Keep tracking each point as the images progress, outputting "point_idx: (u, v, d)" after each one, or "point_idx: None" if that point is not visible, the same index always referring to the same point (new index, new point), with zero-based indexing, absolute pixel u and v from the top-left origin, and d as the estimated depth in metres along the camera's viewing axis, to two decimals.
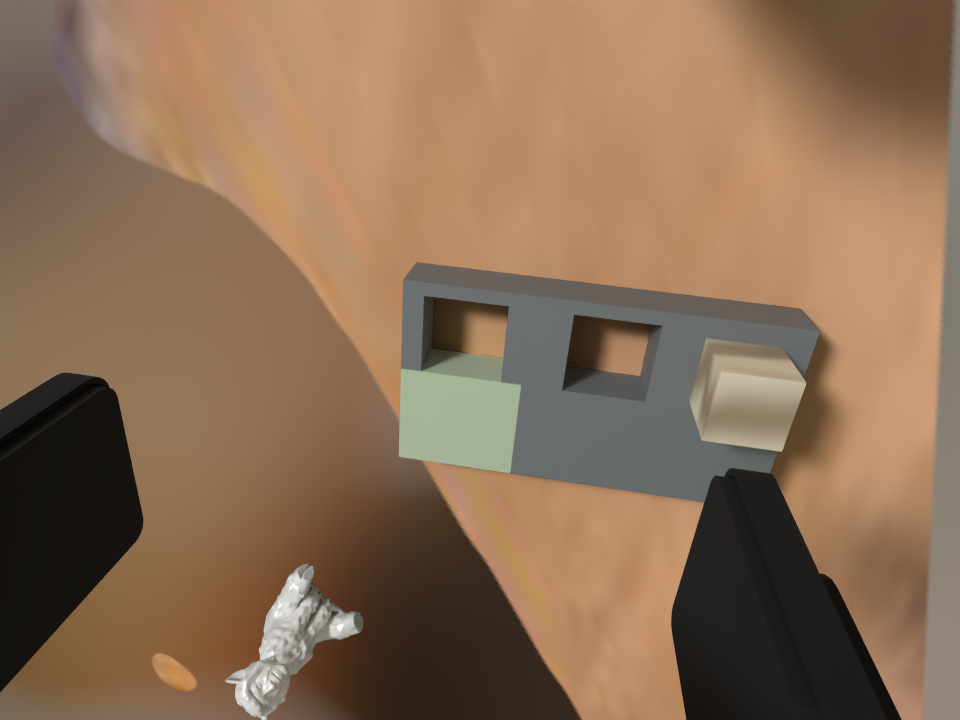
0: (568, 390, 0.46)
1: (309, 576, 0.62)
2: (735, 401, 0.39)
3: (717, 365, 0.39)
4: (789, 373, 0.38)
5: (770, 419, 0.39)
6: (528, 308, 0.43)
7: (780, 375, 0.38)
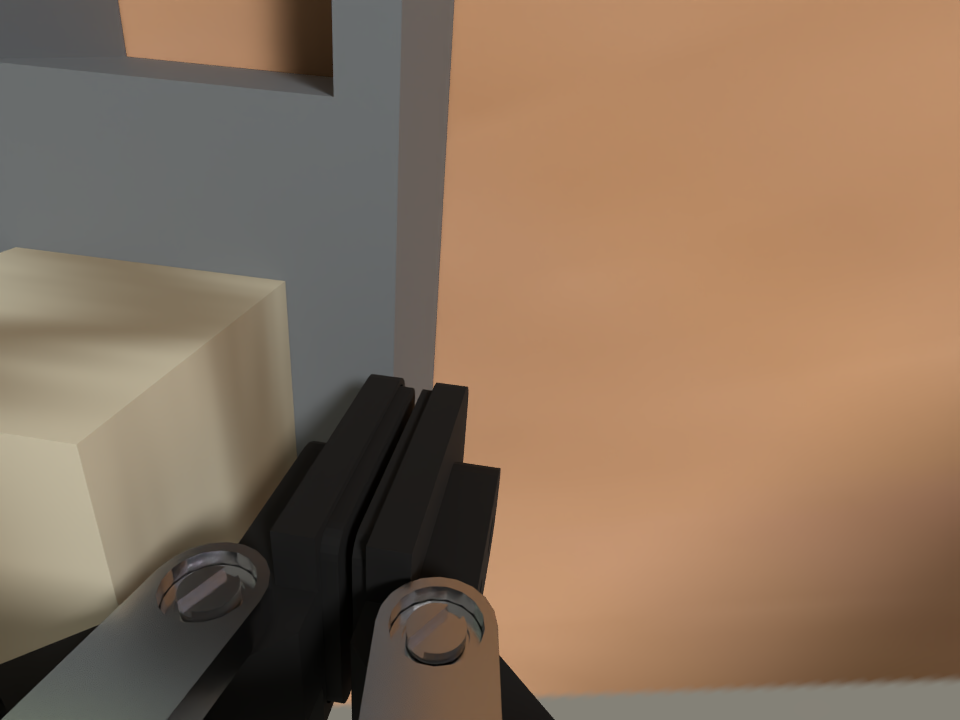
0: None
1: None
2: None
3: (134, 394, 0.07)
4: None
5: None
6: None
7: None
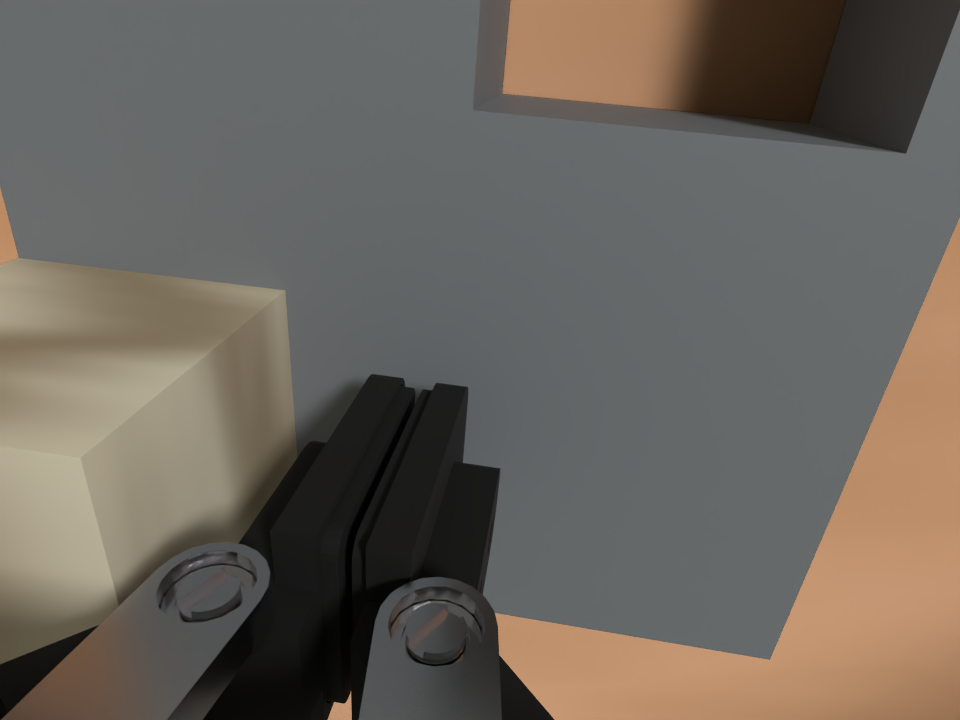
0: None
1: None
2: None
3: (136, 406, 0.07)
4: None
5: None
6: None
7: None
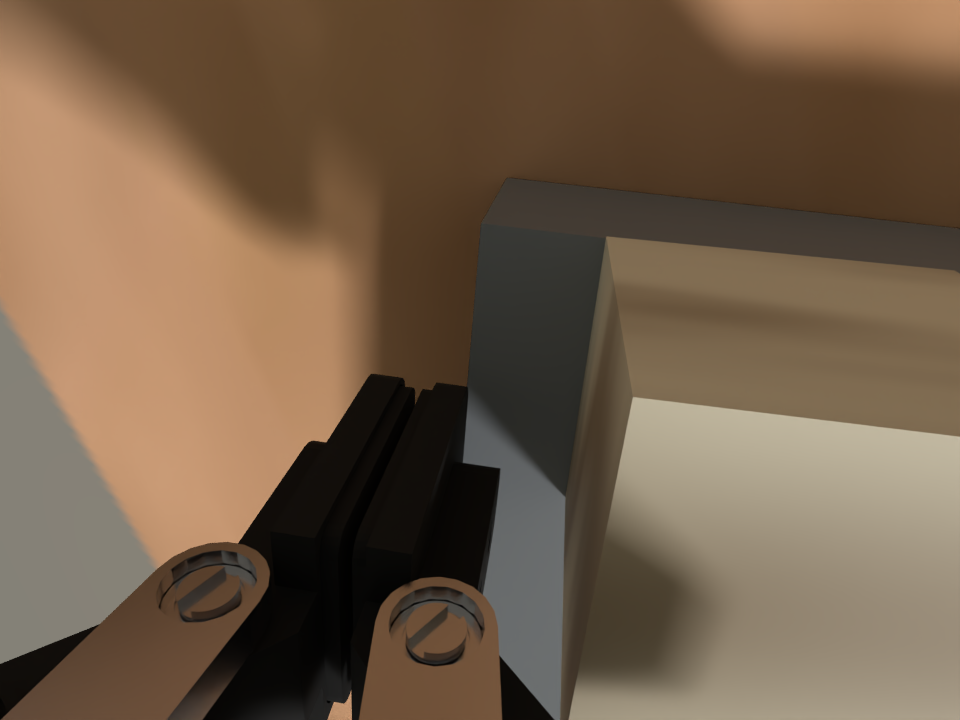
0: None
1: None
2: (956, 716, 0.06)
3: None
4: None
5: (736, 616, 0.06)
6: None
7: None
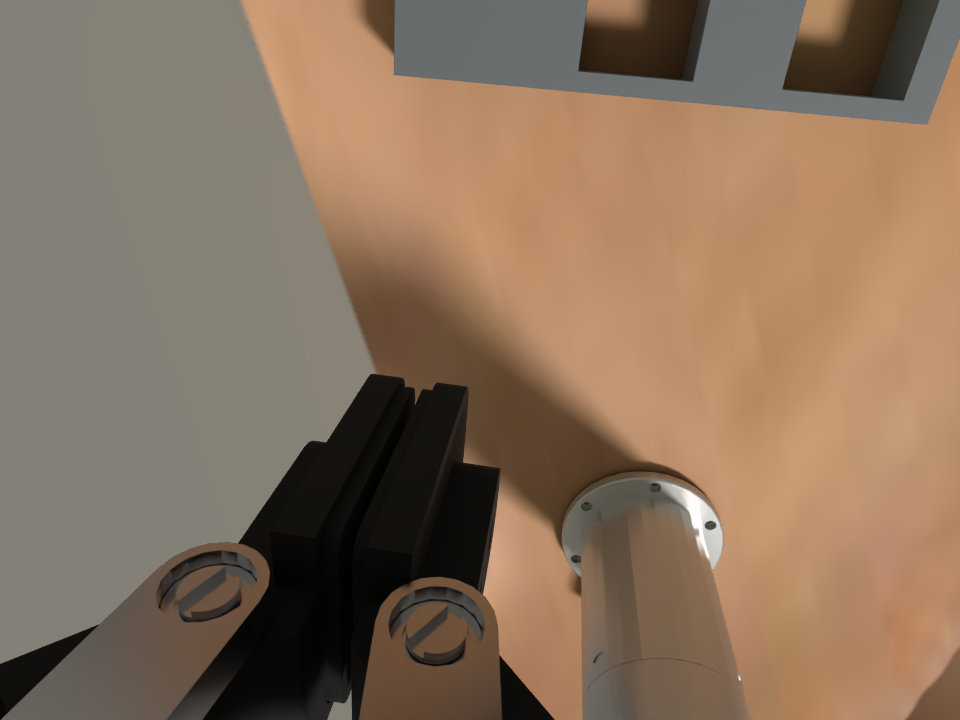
0: None
1: None
2: None
3: None
4: None
5: None
6: (754, 87, 0.32)
7: None
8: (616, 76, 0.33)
